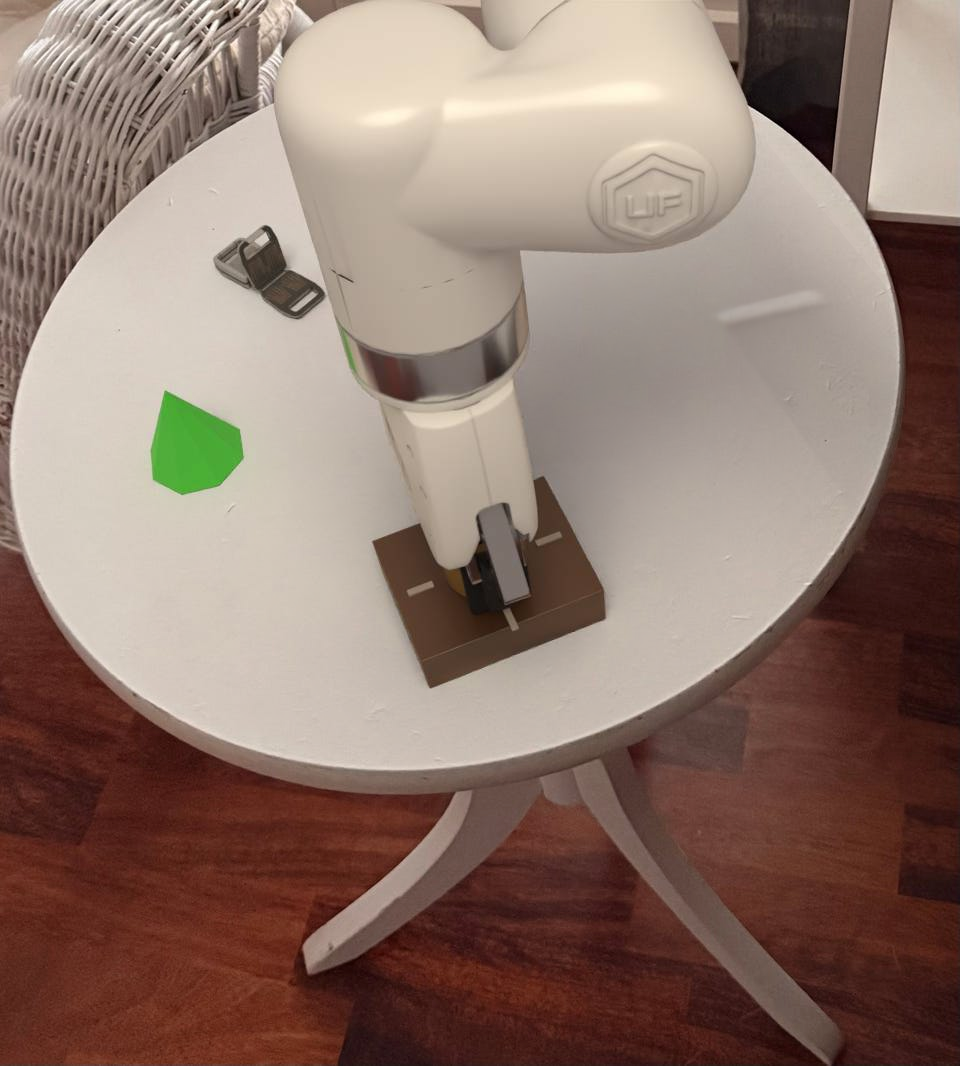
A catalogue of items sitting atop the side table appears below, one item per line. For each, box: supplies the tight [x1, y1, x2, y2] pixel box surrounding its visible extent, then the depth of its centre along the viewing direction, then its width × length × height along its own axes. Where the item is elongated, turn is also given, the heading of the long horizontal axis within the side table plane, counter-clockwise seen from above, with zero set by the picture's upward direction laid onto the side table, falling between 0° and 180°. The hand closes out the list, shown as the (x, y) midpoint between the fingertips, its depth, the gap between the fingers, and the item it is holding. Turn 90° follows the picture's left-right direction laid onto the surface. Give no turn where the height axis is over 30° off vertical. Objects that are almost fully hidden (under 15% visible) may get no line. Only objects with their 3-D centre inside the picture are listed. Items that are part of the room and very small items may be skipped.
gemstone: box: [150, 389, 244, 495], centre depth 73 cm, size 6×6×6 cm
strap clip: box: [212, 224, 325, 319], centre depth 81 cm, size 8×3×4 cm, turn 48°
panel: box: [371, 475, 607, 689], centre depth 66 cm, size 10×9×3 cm
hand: (483, 559), depth 64 cm, fingers closed on knob, 4 cm apart
